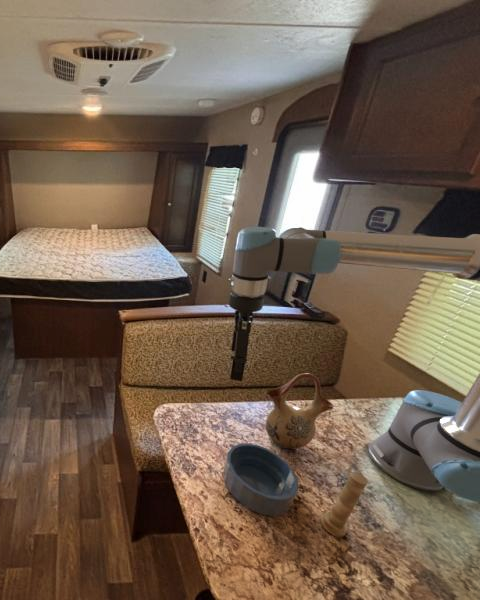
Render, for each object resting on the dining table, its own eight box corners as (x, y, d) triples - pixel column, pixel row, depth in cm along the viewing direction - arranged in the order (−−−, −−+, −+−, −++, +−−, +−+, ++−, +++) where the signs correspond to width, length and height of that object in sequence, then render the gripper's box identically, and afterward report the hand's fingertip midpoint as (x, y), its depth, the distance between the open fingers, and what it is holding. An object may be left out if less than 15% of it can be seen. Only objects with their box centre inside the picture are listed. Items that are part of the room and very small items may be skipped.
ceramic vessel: (256, 448, 92) (280, 377, 82) (250, 426, 100) (270, 359, 90) (321, 462, 88) (353, 390, 78) (309, 438, 96) (337, 369, 86)
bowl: (288, 476, 83) (296, 459, 81) (292, 531, 71) (301, 512, 68) (225, 451, 90) (230, 435, 88) (218, 497, 78) (224, 479, 75)
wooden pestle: (343, 523, 73) (369, 474, 66) (347, 541, 69) (375, 491, 63) (320, 513, 75) (343, 465, 68) (322, 530, 71) (347, 481, 65)
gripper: (231, 274, 88) (222, 339, 97) (229, 312, 68) (218, 390, 76) (261, 276, 85) (250, 343, 94) (268, 316, 65) (253, 397, 73)
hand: (236, 364), depth 85 cm, fingers open, 13 cm apart
